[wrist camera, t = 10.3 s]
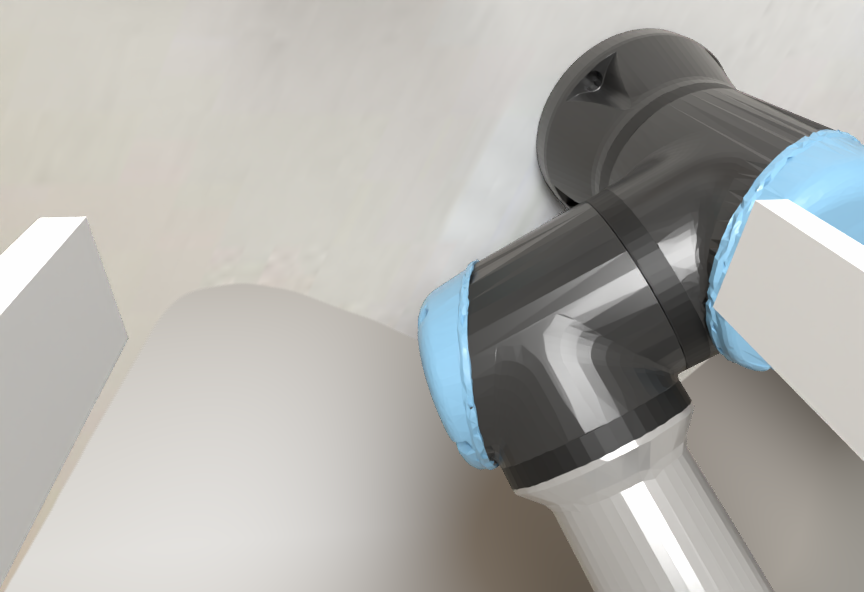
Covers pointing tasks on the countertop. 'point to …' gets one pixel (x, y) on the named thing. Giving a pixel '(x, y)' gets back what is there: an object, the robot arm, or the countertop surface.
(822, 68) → the countertop surface
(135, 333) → the countertop surface
